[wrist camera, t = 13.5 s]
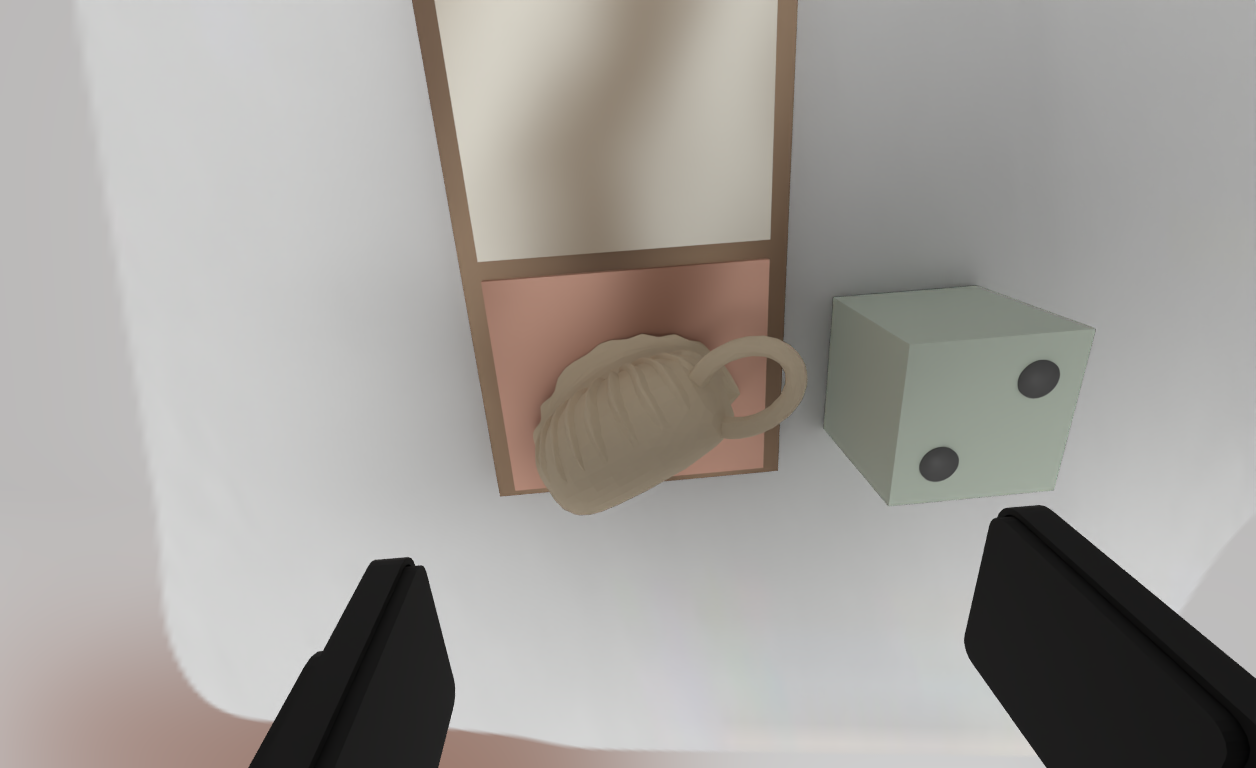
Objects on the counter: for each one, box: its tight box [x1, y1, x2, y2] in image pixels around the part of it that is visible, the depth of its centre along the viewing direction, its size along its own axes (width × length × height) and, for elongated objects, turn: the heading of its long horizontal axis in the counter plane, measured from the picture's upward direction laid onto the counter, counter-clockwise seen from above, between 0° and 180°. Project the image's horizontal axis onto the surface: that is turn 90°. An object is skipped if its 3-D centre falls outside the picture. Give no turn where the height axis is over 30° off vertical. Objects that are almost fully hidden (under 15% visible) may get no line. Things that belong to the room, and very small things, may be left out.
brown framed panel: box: [412, 0, 798, 496], centre depth 18 cm, size 10×16×1 cm, turn 4°
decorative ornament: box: [533, 334, 807, 515], centre depth 17 cm, size 4×8×5 cm, turn 119°
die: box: [823, 286, 1096, 506], centre depth 18 cm, size 5×5×5 cm
